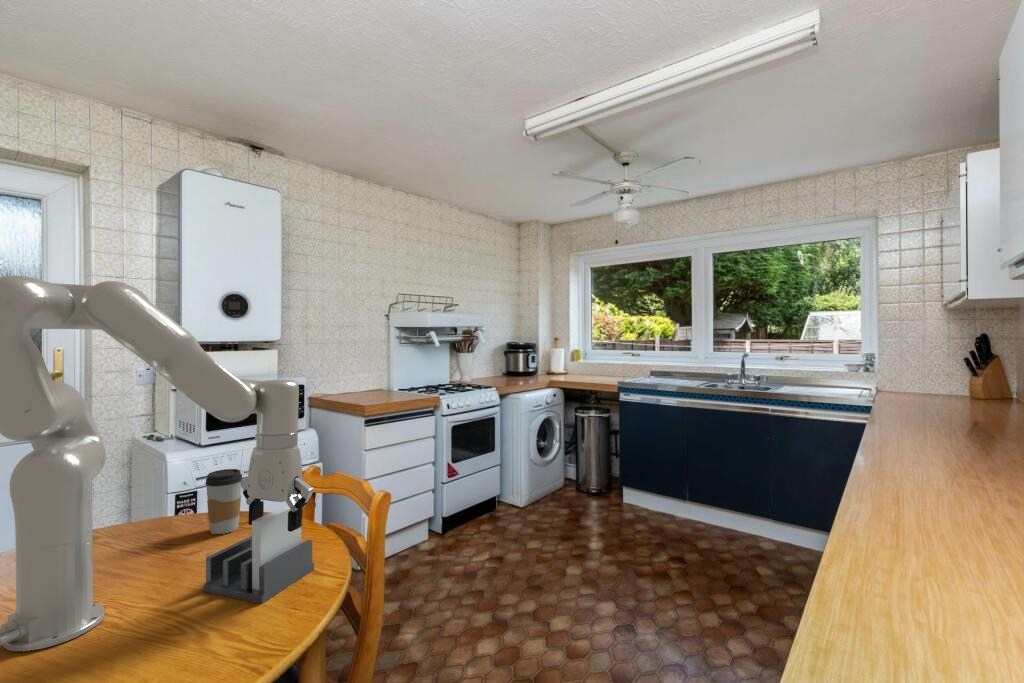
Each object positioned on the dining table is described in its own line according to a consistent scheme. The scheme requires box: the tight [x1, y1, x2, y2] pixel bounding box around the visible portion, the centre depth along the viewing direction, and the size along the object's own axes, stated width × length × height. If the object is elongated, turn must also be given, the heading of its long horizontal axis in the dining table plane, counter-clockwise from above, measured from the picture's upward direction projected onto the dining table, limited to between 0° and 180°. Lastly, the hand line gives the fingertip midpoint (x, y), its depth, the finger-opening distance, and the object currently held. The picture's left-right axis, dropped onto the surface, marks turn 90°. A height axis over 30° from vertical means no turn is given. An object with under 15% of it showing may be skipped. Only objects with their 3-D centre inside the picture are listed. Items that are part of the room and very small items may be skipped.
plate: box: [251, 504, 302, 590], centre depth 98 cm, size 11×2×13 cm, turn 163°
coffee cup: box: [205, 468, 243, 535], centre depth 126 cm, size 8×8×15 cm
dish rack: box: [203, 535, 315, 604], centre depth 99 cm, size 14×14×6 cm
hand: (275, 526), depth 98 cm, fingers open, 9 cm apart
